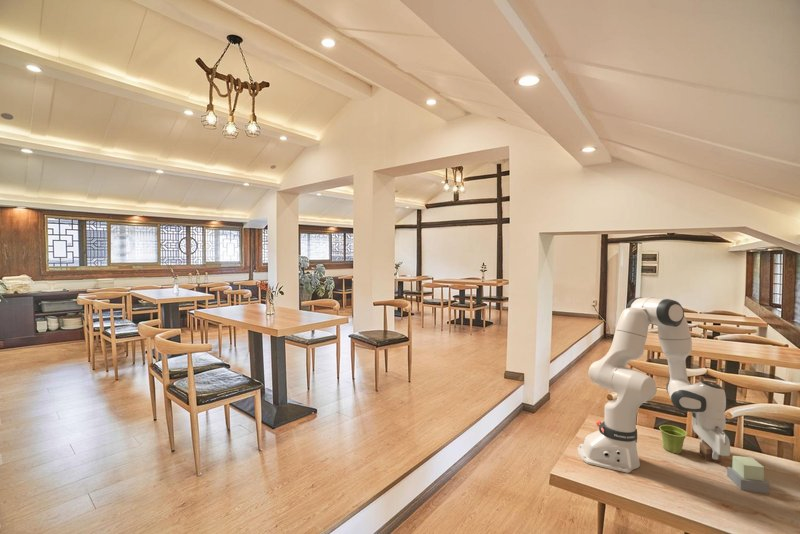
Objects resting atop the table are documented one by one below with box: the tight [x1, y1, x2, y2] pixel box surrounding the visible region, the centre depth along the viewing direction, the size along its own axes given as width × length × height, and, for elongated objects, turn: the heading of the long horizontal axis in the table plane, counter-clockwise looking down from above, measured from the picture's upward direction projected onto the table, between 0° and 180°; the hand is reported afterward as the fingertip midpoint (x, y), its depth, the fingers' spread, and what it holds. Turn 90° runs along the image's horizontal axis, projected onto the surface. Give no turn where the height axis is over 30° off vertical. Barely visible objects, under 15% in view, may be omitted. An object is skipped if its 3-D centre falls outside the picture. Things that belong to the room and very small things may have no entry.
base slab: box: [726, 466, 770, 495], centre depth 129 cm, size 8×8×4 cm
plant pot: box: [659, 424, 688, 454], centre depth 152 cm, size 9×9×9 cm
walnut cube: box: [699, 441, 722, 463], centre depth 146 cm, size 5×5×5 cm
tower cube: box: [731, 455, 765, 481], centre depth 129 cm, size 6×6×5 cm
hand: (709, 453), depth 146 cm, fingers closed on walnut cube, 5 cm apart
